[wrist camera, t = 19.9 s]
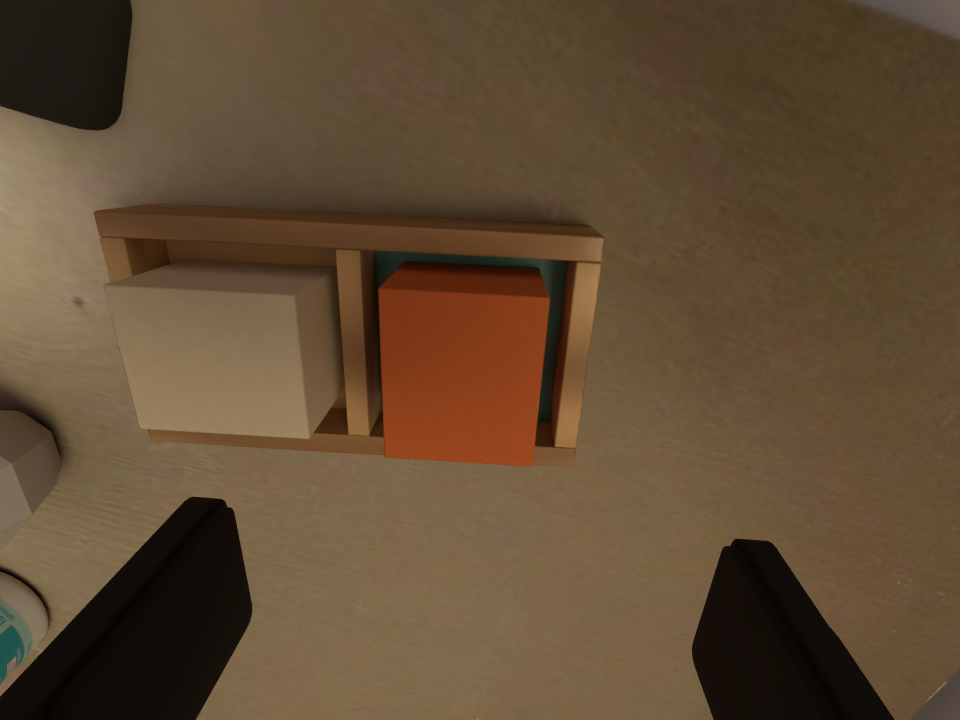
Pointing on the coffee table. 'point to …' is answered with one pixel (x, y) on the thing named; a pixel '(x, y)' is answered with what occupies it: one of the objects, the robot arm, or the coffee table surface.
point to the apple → (24, 470)
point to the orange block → (462, 361)
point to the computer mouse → (65, 59)
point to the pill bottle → (19, 623)
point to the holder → (361, 272)
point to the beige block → (230, 346)
